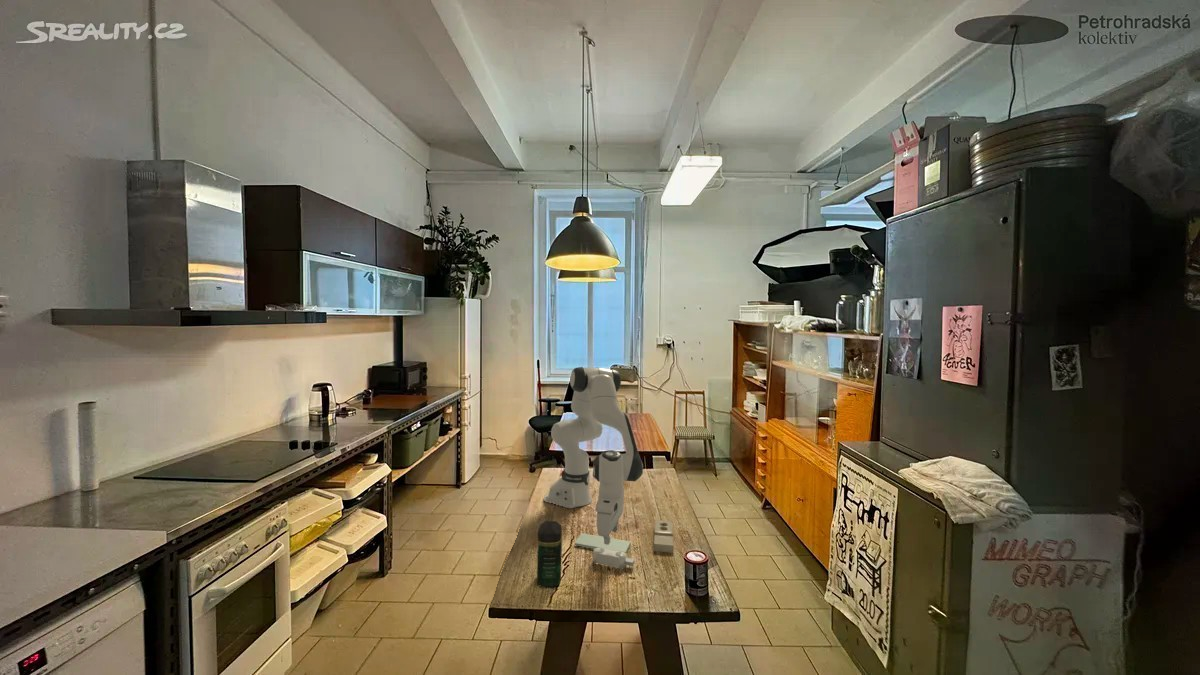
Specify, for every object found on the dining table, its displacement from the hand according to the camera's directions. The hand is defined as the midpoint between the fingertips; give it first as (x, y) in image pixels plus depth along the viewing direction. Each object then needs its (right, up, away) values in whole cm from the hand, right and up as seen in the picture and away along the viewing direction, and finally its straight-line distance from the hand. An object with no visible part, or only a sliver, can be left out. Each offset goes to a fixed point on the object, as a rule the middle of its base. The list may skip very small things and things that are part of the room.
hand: (610, 537), depth 157 cm
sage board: (-3, -9, +13) cm, 16 cm away
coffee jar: (-21, -10, -10) cm, 25 cm away
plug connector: (+1, -10, 0) cm, 10 cm away
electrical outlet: (+21, -10, +18) cm, 29 cm away
